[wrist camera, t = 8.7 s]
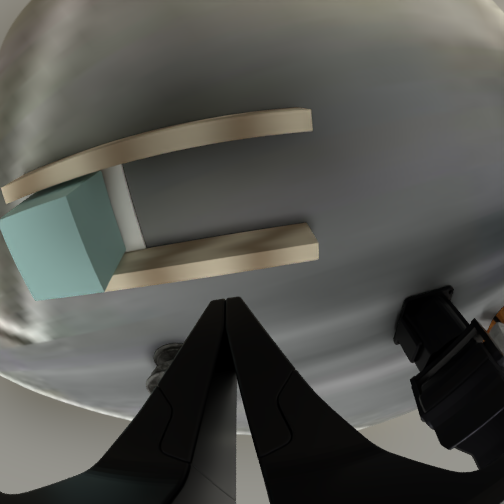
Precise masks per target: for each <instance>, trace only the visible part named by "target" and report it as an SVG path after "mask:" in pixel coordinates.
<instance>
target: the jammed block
mask: <svg viewBox="0 0 504 504" xmlns="http://www.w3.org/2000/svg"><path fill="white" fill-rule="evenodd" d="M0 229H1V232H2V234H3V237H4V239H5V241H6V244H7V246H8V248H9V250H10V253H11V255H12V257H13V259H14V261H15V263H16V265H17V267H18V269H19V271H20V273H21V275H22V277H23V279H24V281H25V283H26V285H27V287H28V289H29V291H30V292H31V294H32V296H33V298H34V299H35V301H38V300H47V299H55V298H63V297H71V296H79V295H86V294H94V293H102V292H105V290H106V288H107V286H108V284H109V282H110V280H111V278H112V276H113V274H114V272H115V270H116V268H117V266H118V264H119V262H120V260H121V258H122V256H123V255H124V253H125V251H126V248H125V245H124V242H123V239H122V236H121V233H120V231H119V228H118V225H117V222H116V219H115V215H114V212H113V209H112V206H111V203H110V200H109V196H108V193H107V189H106V186H105V183H104V179H103V175H102V172H101V170H100V171H97V172H93V173H90V174H87V175H84V176H81V177H78V178H75V179H72V180H69V181H66V182H63V183H60V184H57V185H54V186H51V187H49V188H46V189H43V190H41V191H38V192H36V193H34V194H33V195H31V196H30V197H29V198H27V199H26V200H24V201H23V202H22V203H20V204H19V205H17V206H16V207H15V208H13V209H12V210H11V211H9V212H8V213H7V214H6V215H4V216H3V217H2V218H0Z"/></svg>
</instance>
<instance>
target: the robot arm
mask: <svg viewBox="0 0 504 504" xmlns="http://www.w3.org/2000/svg"><path fill="white" fill-rule="evenodd" d="M453 291H454V289H453V288H452V286H448V287H445V288H441V289H438V290H434V291H431V292H428V293H424V294H421V295H417V296H413V297H410V298H407V299H406V300H405V301H404V305H403V309H402V312H401V316H400V320H399V324H398V327H397V331H396V334H395V338H394V343H395V344H396V345H398V344H400V345H401V347H402V348H403V350H404V352H405V354H406V355H407V357H408V359H409V361H410V362H411V363H414V362H415V364H416V366H417V368H418V369H419V371H420V373H418V374H417V375H416V376H414V377H412V378H411V379H410V382H411V385H412V390H413V394H414V397H415V400H416V404H417V407H418V411H419V415H420V417H421V420H422V421H423V422H426V424H427V425H428V426H429V427H430V428H431V429H433V430H435V432H436V435H437V437H438V439H439V442H440V444H441V445H442V446H443V447H445V448H447V449H448V450H451V449H453V448H456V449H458V450H460V451H462V452H465V453H467V454H469V455H471V456H472V457H473V459H474V461H475V463H476V465H477V467H478V469H479V470H477V471H473V472H455V471H449V470H446V469H442V468H438V467H435V466H431V465H427V464H424V463H421V462H418V461H414V460H411V459H408V458H405V457H402V456H399V455H396V454H393V453H390V452H388V451H386V450H384V449H382V448H380V447H378V446H376V445H375V444H373V443H372V442H371V441H369V440H368V439H367V438H365V437H364V436H363V435H362V434H361V433H359V432H358V431H357V430H356V429H355V428H354V427H352V426H351V425H350V424H349V423H348V422H347V421H345V420H344V419H343V418H342V417H341V416H340V415H339V414H338V413H336V412H335V411H334V410H333V409H332V408H331V407H330V406H329V405H328V404H327V403H326V402H325V401H323V400H322V399H321V398H320V397H319V396H318V395H317V394H316V393H315V391H314V390H313V389H312V388H311V387H310V386H309V385H308V383H307V382H306V381H305V380H304V379H303V377H302V376H301V375H300V374H299V372H298V371H297V370H295V368H294V366H293V365H292V364H291V363H290V361H289V360H288V359H287V357H286V356H285V355H284V354H283V352H282V351H281V350H280V348H279V347H278V346H277V345H276V343H275V342H274V341H273V339H272V338H271V337H270V335H269V334H268V333H267V332H266V330H265V329H264V328H263V326H262V325H261V324H260V322H259V321H258V320H257V318H256V317H255V316H254V314H253V313H252V312H251V310H250V309H249V308H248V306H247V305H246V304H245V302H244V301H243V300H242V298H241V297H232V298H227V299H226V300H225V299H218V300H213V301H211V302H210V303H209V305H208V306H207V308H206V309H205V311H204V313H203V314H202V316H201V317H200V319H199V320H198V322H197V323H196V325H195V326H194V328H193V330H192V331H191V333H190V334H189V336H188V337H187V339H186V340H185V342H184V344H183V345H182V347H181V348H180V350H179V351H178V353H177V354H176V356H175V358H174V359H173V361H172V362H171V364H170V365H169V367H168V368H167V370H166V372H165V373H164V375H163V376H162V378H161V379H160V381H159V383H158V384H157V385H158V386H156V387H155V389H154V390H153V392H152V393H151V395H150V396H149V398H148V399H147V401H146V402H145V404H144V405H143V407H142V408H141V410H140V411H139V412H138V414H137V415H136V416H135V418H134V419H133V420H132V421H131V423H130V424H129V425H128V427H127V428H126V429H125V430H124V431H123V433H122V434H121V435H120V436H119V437H118V439H117V440H116V441H115V442H114V443H113V445H112V446H111V447H110V448H109V450H108V451H107V452H106V453H105V454H104V456H103V457H102V458H101V459H100V460H99V461H98V462H97V463H96V464H95V465H94V466H92V467H91V468H90V469H88V470H87V471H85V472H83V473H81V474H78V475H76V476H73V477H71V478H68V479H65V480H62V481H60V482H57V483H54V484H51V485H48V486H45V487H42V488H39V489H35V490H32V491H29V492H25V493H20V494H5V493H2V492H0V504H236V502H235V501H236V408H237V381H238V385H239V389H240V393H241V397H242V401H243V405H244V409H245V413H246V416H247V420H248V424H249V428H250V431H251V435H252V439H253V442H254V446H255V450H256V453H257V457H258V460H259V464H260V467H261V471H262V475H263V478H264V482H265V486H266V490H267V494H268V498H269V502H270V504H504V355H503V353H502V352H501V350H500V349H499V347H498V346H497V344H496V343H495V342H494V340H493V339H492V338H491V336H490V335H489V334H488V333H487V331H486V330H485V329H484V328H483V327H482V326H481V324H480V323H479V322H478V321H477V320H476V319H475V318H474V319H473V320H472V321H471V324H470V325H469V323H468V322H467V321H466V320H465V318H464V317H463V316H462V315H461V313H460V312H459V311H458V310H457V308H456V307H455V306H454V305H453V304H452V302H451V301H450V300H451V297H452V294H453ZM483 340H484V342H483V343H482V341H483Z"/></svg>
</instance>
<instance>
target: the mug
mask: <svg viewBox="0 0 504 504" xmlns="http://www.w3.org/2000/svg"><path fill="white" fill-rule="evenodd" d="M487 333H488V334H489V335H490V336H491V338H492V339H493V340H494V342H495V343H496V344H497V346H498V347H499V349H500V350H501V352H502V353H503V355H504V306H503V308H502V309H501V310H500V311H499V312H498V313H497V314H496V316H495V317H494V318H493V320H492V322H491V324H490V326H489V328H488V330H487ZM482 342H484V340H483V341H482Z"/></svg>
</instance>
